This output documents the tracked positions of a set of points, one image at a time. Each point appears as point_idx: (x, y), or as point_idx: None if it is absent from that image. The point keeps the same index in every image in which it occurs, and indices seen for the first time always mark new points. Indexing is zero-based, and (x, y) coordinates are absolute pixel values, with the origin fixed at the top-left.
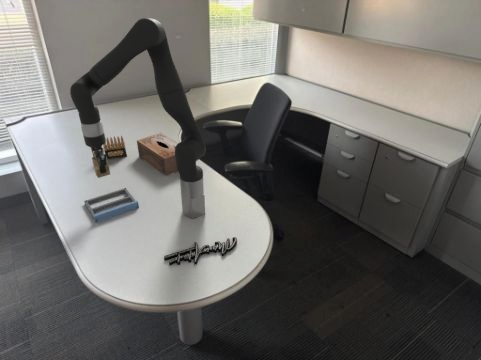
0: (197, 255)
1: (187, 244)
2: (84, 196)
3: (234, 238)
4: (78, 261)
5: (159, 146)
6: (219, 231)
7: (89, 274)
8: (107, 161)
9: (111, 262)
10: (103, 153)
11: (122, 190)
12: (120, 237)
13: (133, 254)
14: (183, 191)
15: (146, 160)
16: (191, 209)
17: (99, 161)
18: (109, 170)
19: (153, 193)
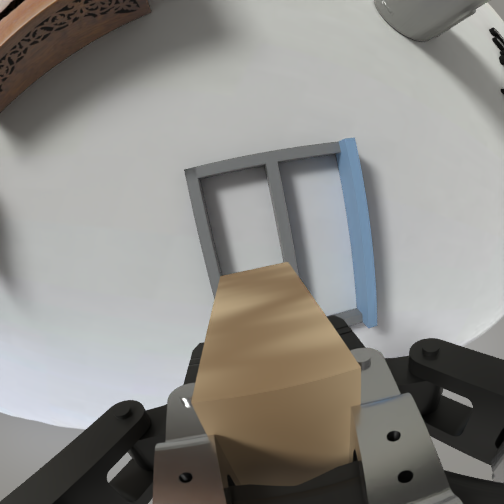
0: None
1: (501, 103)
2: (175, 343)
3: (495, 31)
4: (464, 343)
5: (20, 6)
6: (473, 30)
7: (495, 317)
8: (331, 327)
9: (497, 275)
10: (442, 480)
11: (199, 187)
12: (455, 244)
13: (500, 224)
14: (478, 4)
15: (23, 85)
16: (454, 25)
17: (469, 439)
18: (296, 275)
19: (261, 65)
